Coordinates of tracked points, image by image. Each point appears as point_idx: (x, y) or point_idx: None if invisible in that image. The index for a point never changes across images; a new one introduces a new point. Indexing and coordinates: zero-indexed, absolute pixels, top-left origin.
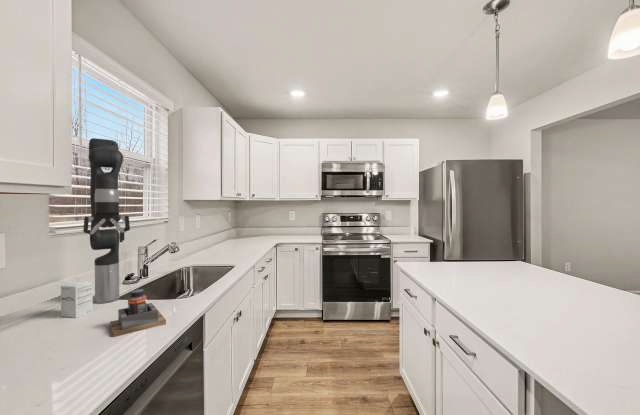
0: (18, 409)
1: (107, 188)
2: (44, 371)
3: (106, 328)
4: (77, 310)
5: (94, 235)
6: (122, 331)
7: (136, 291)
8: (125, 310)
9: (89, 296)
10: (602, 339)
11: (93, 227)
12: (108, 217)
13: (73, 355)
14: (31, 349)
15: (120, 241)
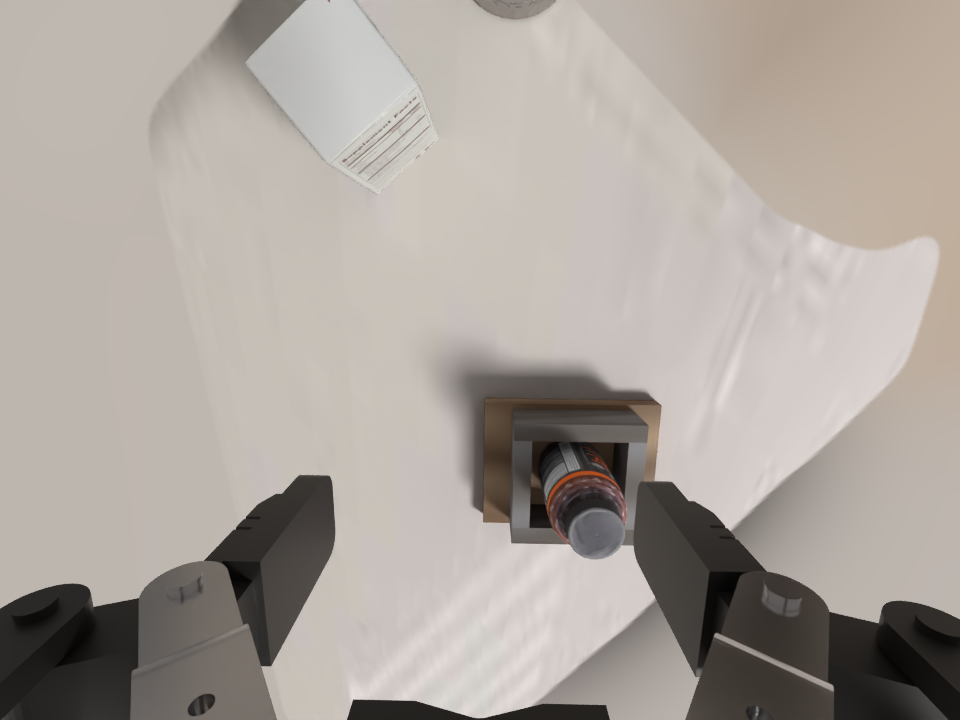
0: None
1: None
2: (327, 615)
3: (471, 417)
4: (375, 186)
5: (274, 651)
6: (508, 520)
7: (589, 549)
8: (538, 438)
9: (415, 128)
10: None
11: (136, 680)
12: None
13: (381, 569)
14: (276, 446)
15: (638, 560)
